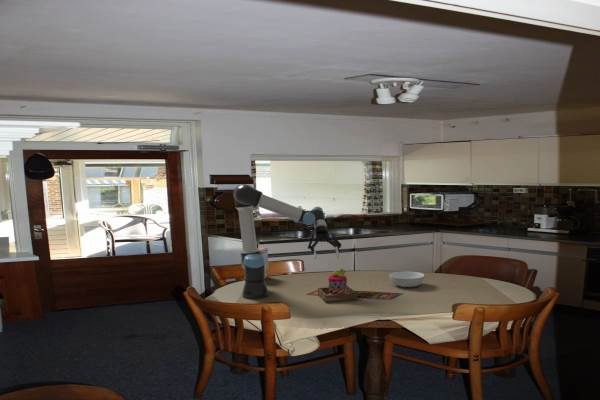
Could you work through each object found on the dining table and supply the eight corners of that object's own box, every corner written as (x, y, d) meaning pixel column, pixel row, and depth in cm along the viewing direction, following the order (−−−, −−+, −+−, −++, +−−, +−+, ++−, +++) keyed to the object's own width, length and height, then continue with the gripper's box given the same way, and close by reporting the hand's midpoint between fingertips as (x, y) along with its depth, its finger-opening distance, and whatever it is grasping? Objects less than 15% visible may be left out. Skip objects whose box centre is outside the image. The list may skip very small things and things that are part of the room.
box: (317, 294, 268) (317, 288, 268) (347, 292, 272) (347, 285, 271) (325, 303, 250) (325, 295, 250) (357, 300, 254) (357, 293, 254)
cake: (337, 299, 253) (337, 272, 252) (324, 296, 261) (324, 269, 260) (351, 296, 259) (350, 269, 258) (337, 292, 267) (337, 267, 267)
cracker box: (261, 277, 319) (260, 246, 318) (269, 277, 317) (268, 247, 316) (252, 281, 306) (251, 250, 305) (260, 282, 304) (259, 250, 303)
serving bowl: (409, 280, 297) (409, 269, 297) (432, 287, 278) (431, 275, 278) (382, 284, 288) (382, 273, 288) (404, 291, 269) (404, 280, 269)
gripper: (339, 232, 290) (346, 260, 276) (300, 233, 285) (305, 261, 271) (341, 224, 284) (348, 252, 270) (301, 225, 279) (307, 254, 265)
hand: (327, 257), depth 271 cm, fingers open, 13 cm apart
